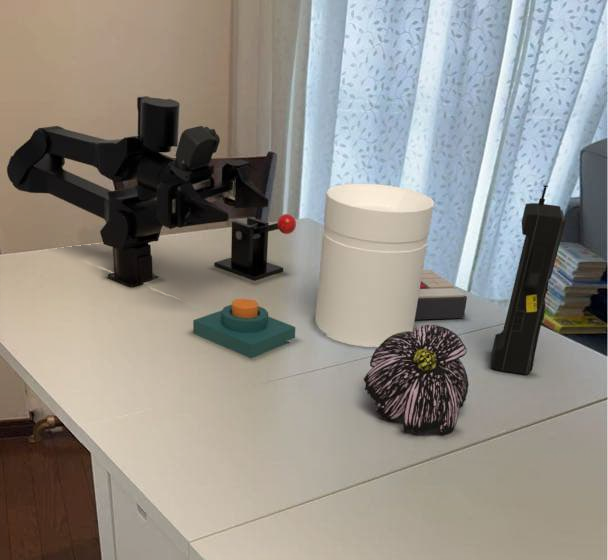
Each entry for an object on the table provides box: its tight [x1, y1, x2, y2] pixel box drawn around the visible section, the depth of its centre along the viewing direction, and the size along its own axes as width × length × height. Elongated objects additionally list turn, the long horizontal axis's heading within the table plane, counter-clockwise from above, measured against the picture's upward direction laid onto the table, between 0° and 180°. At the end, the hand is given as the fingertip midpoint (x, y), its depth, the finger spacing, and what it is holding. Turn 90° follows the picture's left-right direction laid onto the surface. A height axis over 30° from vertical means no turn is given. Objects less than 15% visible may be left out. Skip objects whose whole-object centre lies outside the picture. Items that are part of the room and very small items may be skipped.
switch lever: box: [250, 213, 297, 239], centre depth 140 cm, size 12×3×3 cm, turn 51°
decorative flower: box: [363, 324, 470, 436], centre depth 104 cm, size 14×12×15 cm
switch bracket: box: [213, 216, 285, 282], centre depth 145 cm, size 10×8×9 cm
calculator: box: [415, 269, 468, 321], centre depth 139 cm, size 11×4×15 cm
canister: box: [314, 183, 435, 348], centre depth 124 cm, size 16×16×20 cm
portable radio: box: [490, 184, 566, 376], centre depth 114 cm, size 8×6×25 cm
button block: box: [192, 304, 296, 359], centre depth 122 cm, size 12×10×4 cm
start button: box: [231, 298, 260, 318], centre depth 120 cm, size 4×4×2 cm
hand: (248, 210), depth 118 cm, fingers open, 9 cm apart
